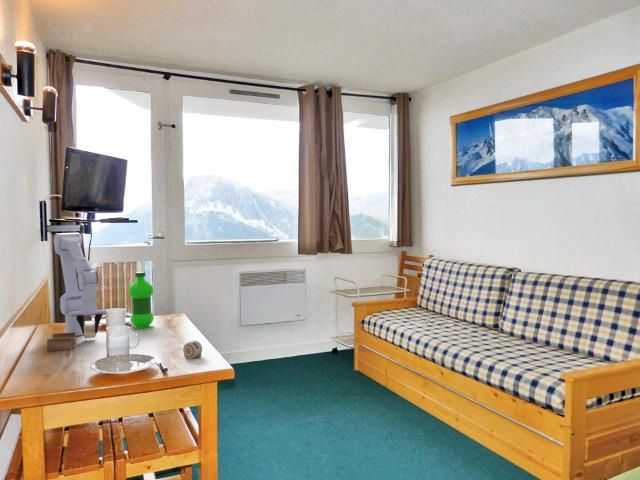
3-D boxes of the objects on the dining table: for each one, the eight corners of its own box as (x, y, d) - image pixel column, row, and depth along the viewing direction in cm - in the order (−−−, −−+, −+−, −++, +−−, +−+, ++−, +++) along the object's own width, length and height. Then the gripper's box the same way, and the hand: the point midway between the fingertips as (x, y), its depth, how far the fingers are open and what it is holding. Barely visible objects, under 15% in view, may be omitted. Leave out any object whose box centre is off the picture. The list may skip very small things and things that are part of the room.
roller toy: (195, 360, 170) (195, 343, 170) (181, 358, 173) (180, 342, 172) (203, 357, 174) (203, 340, 174) (189, 355, 177) (188, 339, 176)
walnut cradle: (53, 345, 195) (53, 333, 195) (75, 343, 197) (75, 332, 197) (47, 351, 185) (46, 339, 185) (70, 349, 188) (70, 337, 188)
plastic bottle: (130, 325, 228) (128, 271, 227) (154, 323, 232) (152, 270, 230) (129, 330, 219) (127, 274, 218) (154, 328, 222) (152, 272, 221)
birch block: (85, 336, 203) (85, 324, 203) (96, 335, 204) (95, 323, 204) (84, 338, 199) (83, 326, 199) (94, 337, 200) (94, 325, 200)
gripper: (67, 303, 195) (68, 336, 196) (106, 300, 199) (108, 333, 200) (70, 300, 202) (72, 332, 202) (109, 297, 206) (110, 330, 207)
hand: (90, 333), depth 202 cm, fingers closed on birch block, 4 cm apart
